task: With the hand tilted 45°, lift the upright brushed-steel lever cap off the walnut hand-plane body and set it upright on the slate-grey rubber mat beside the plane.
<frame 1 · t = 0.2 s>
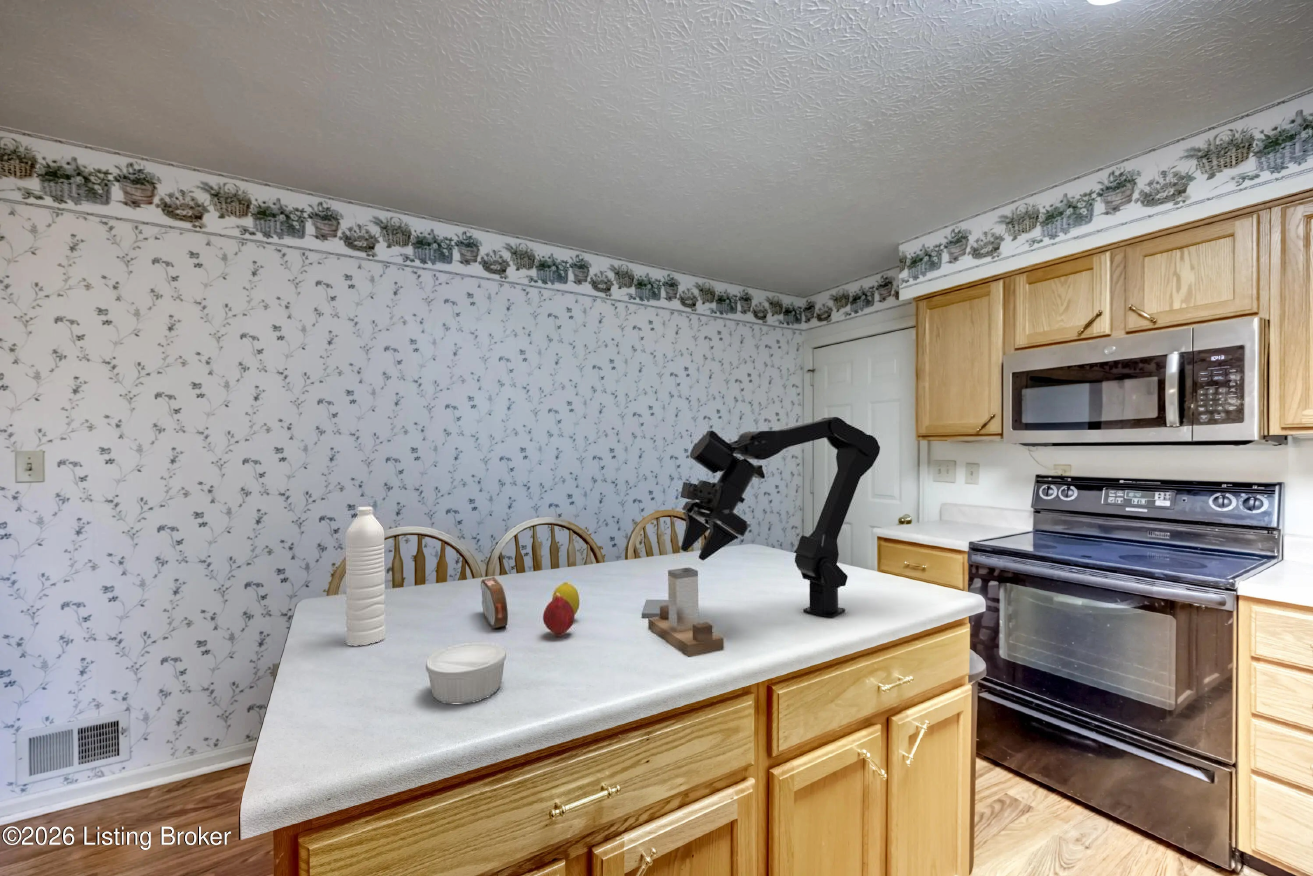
hand: (691, 554, 107), 14 cm above the worktop, tool tilted 35°, fingers open, 9 cm apart
water bottle: (366, 643, 103), on the worktop
mat: (667, 610, 119), on the worktop
ramekin: (467, 692, 82), on the worktop
plane body: (683, 638, 102), on the worktop
lever cap: (683, 627, 102), point 2 cm above the worktop, touching plane body
onion: (559, 636, 105), on the worktop
tin: (493, 623, 114), on the worktop
lemon: (565, 622, 113), on the worktop
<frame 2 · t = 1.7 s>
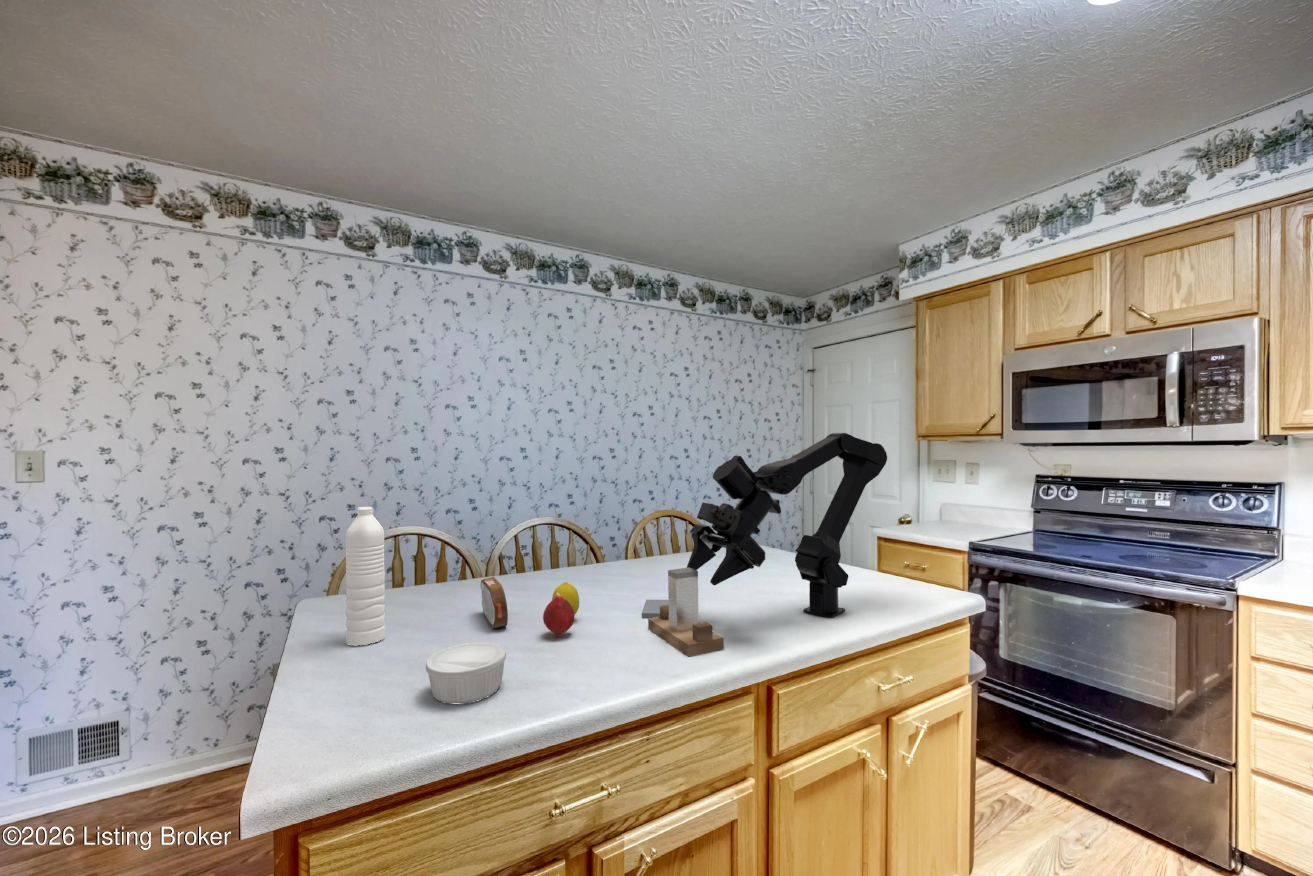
hand: (699, 578, 104), 11 cm above the worktop, tool tilted 45°, fingers open, 9 cm apart
nothing on the worktop moved.
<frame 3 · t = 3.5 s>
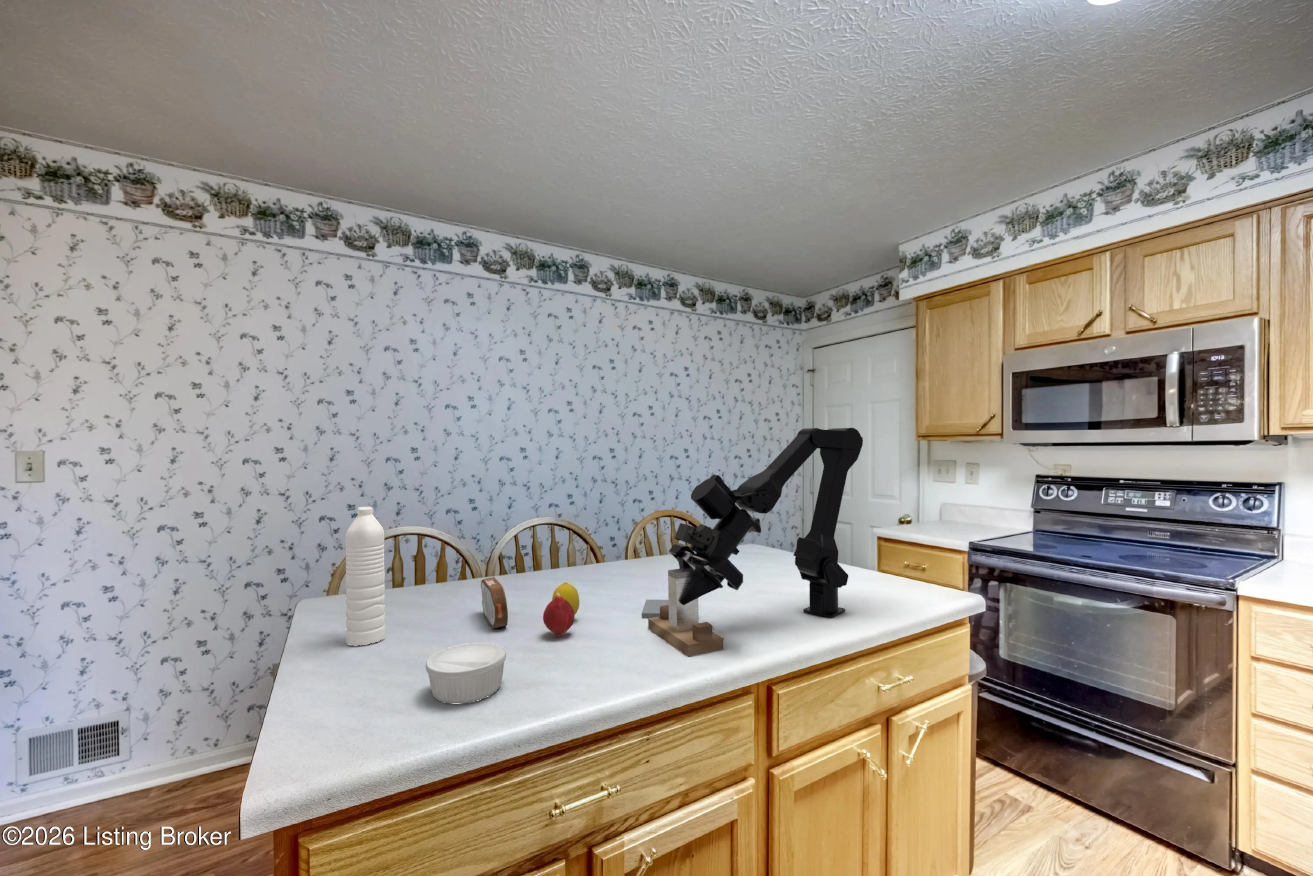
hand: (676, 601, 102), 7 cm above the worktop, tool tilted 45°, fingers closed on lever cap, 3 cm apart
lever cap: (683, 627, 102), point 2 cm above the worktop, touching gripper, plane body
everything else where it was.
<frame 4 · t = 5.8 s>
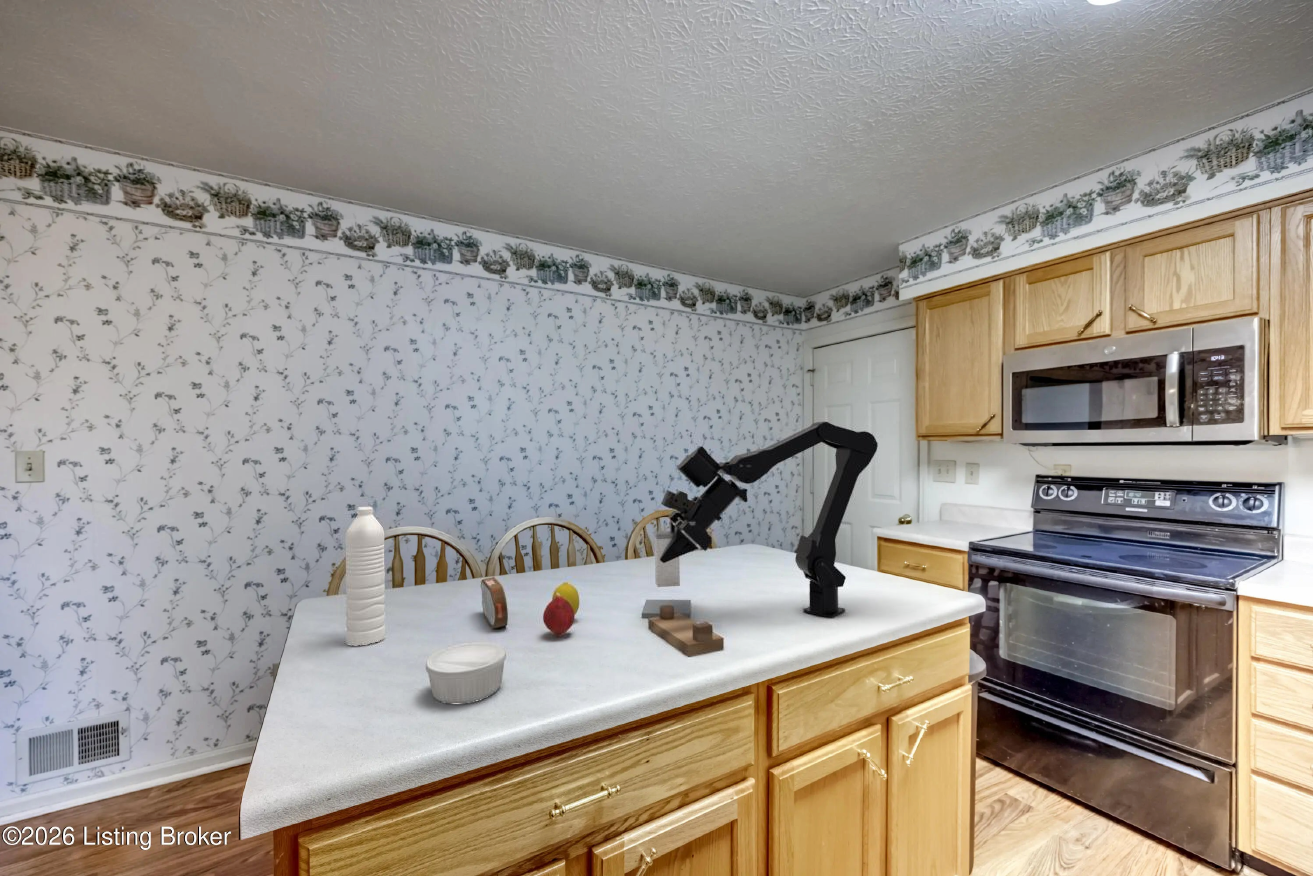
hand: (660, 559, 112), 12 cm above the worktop, tool tilted 45°, fingers closed on lever cap, 3 cm apart
lever cap: (667, 584, 113), point 7 cm above the worktop, touching gripper
everything else where it was.
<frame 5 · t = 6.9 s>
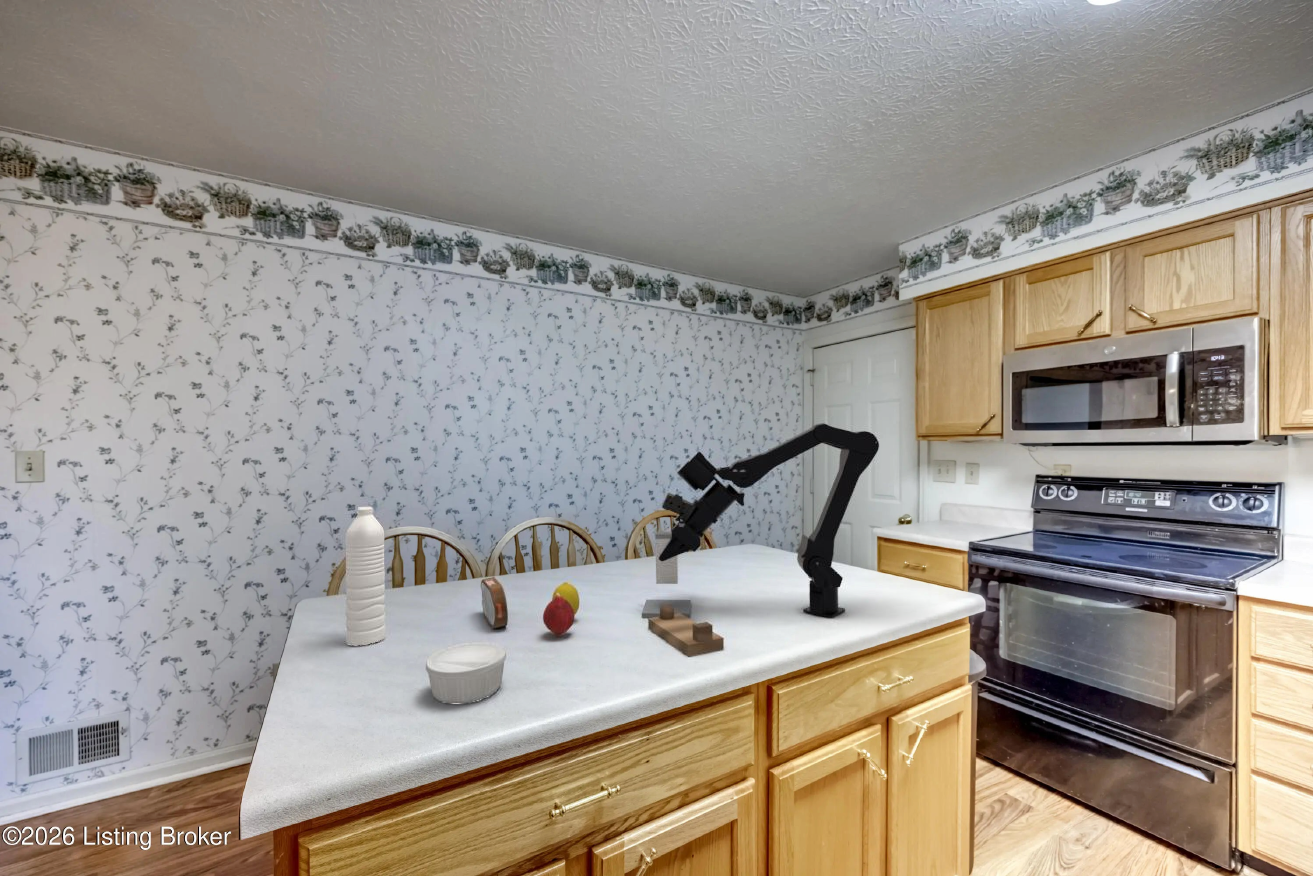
hand: (660, 558, 119), 11 cm above the worktop, tool tilted 45°, fingers closed on lever cap, 3 cm apart
lever cap: (667, 581, 119), point 6 cm above the worktop, touching gripper
everything else where it was.
when the fingers open (7 cm above the worktop, at t = 7.9 s): lever cap drops 1 cm, resting on mat.
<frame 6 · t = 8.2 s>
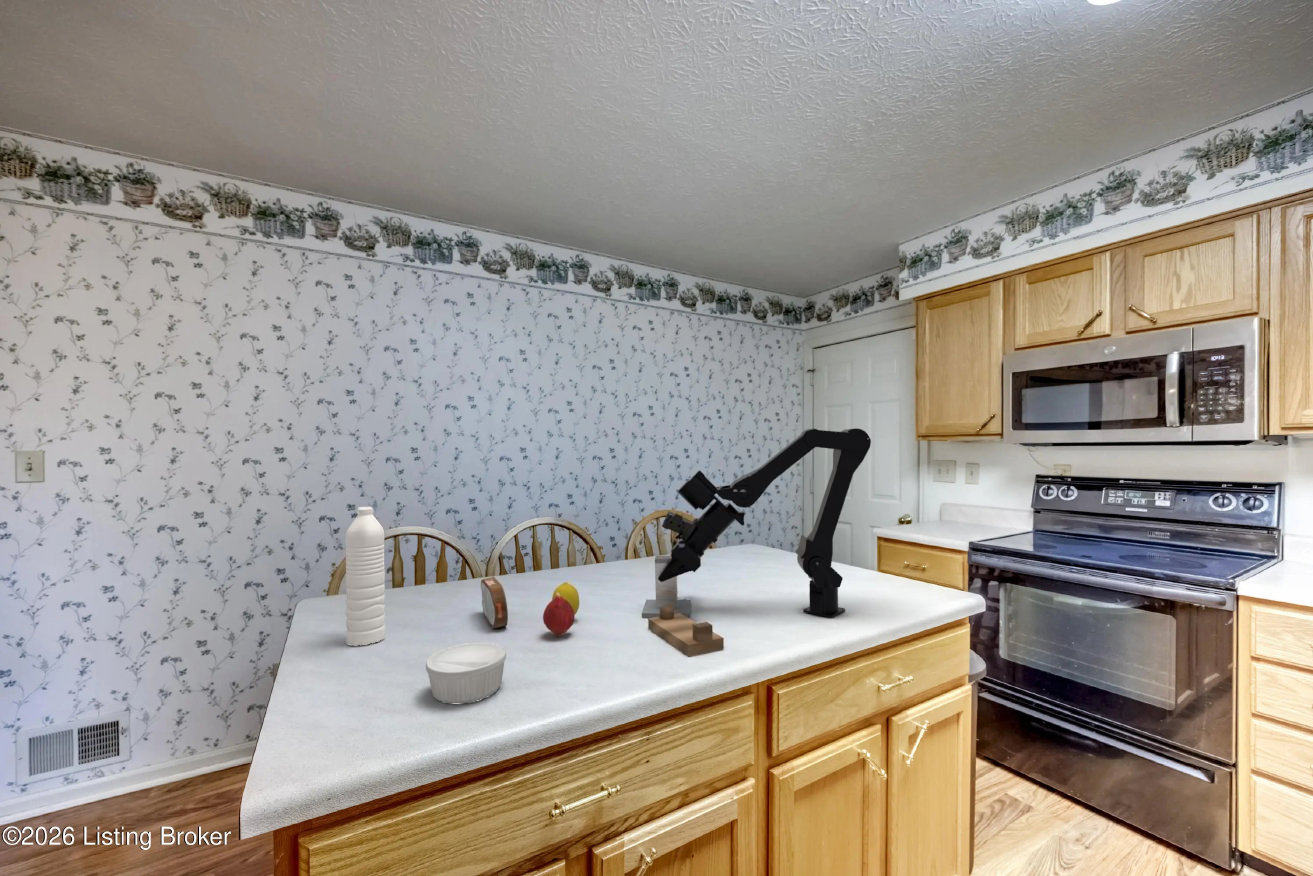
hand: (660, 577, 119), 7 cm above the worktop, tool tilted 45°, fingers open, 6 cm apart
lever cap: (667, 606, 119), point 1 cm above the worktop, touching mat
everything else where it was.
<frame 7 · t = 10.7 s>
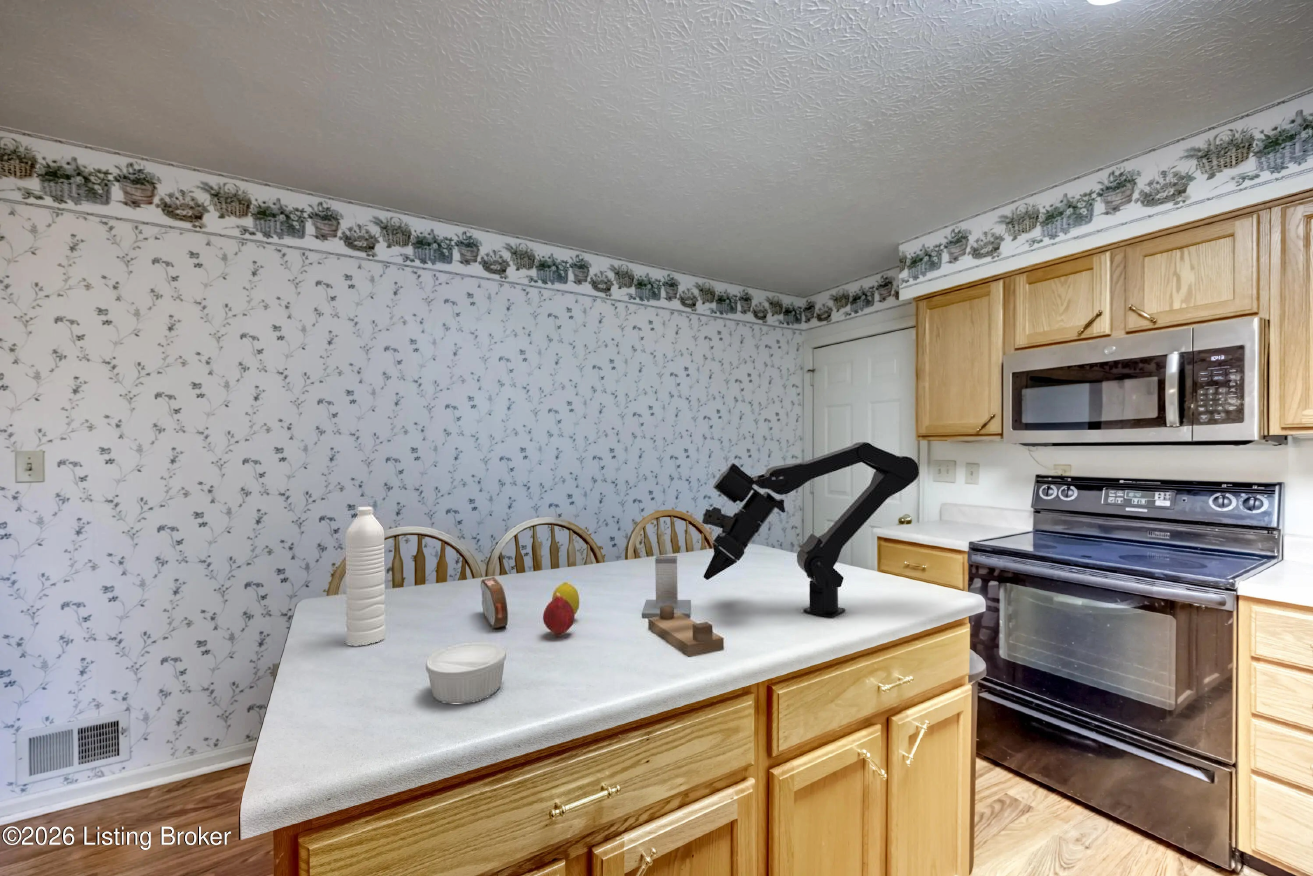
hand: (707, 575, 117), 8 cm above the worktop, tool tilted 40°, fingers open, 9 cm apart
nothing on the worktop moved.
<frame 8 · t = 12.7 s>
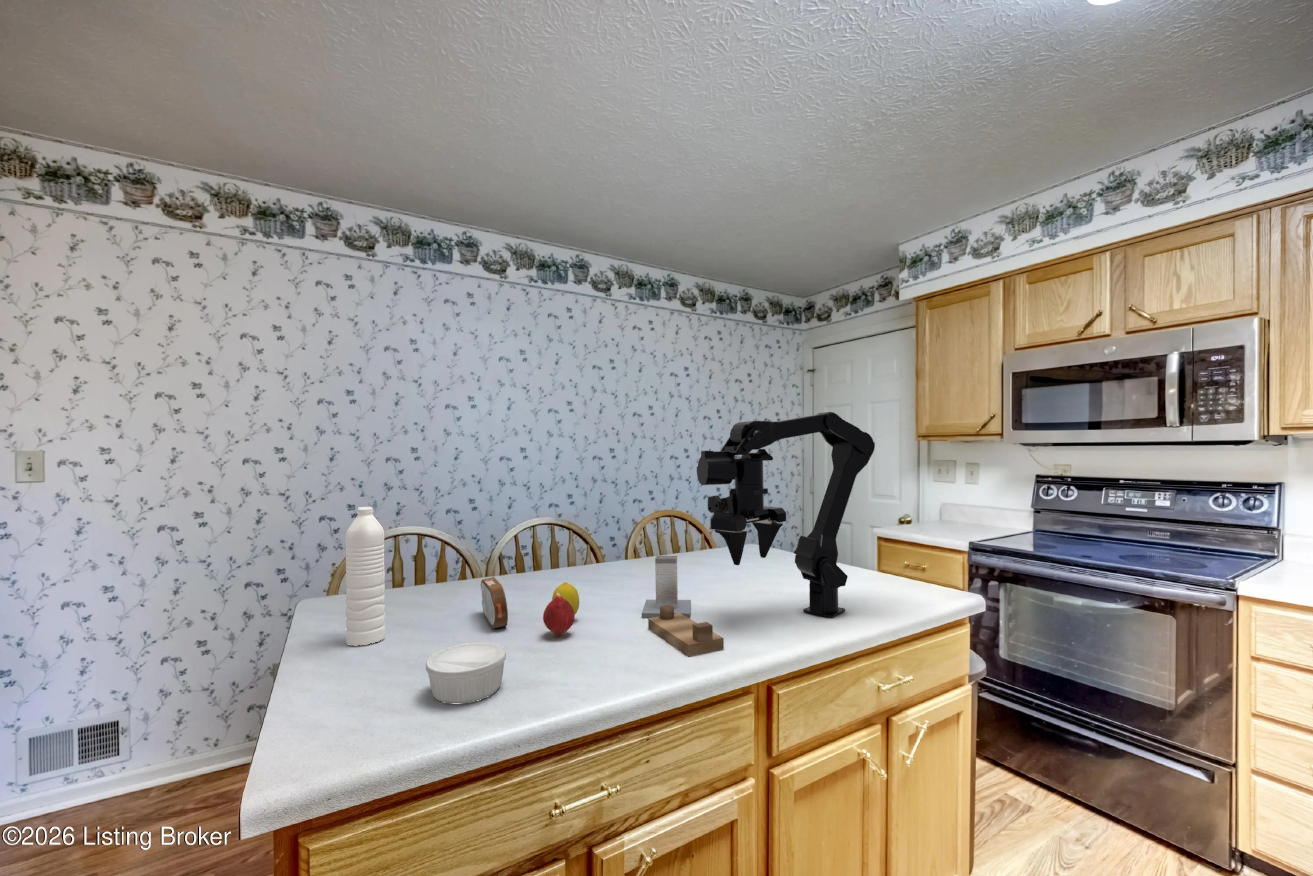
hand: (750, 561, 112), 12 cm above the worktop, tool pointing down, fingers open, 9 cm apart
nothing on the worktop moved.
at the end: lever cap inside the target area on the mat (0.1 cm from its centre), point 1.0 cm above the mat's base; lever cap tilted 0°; the gripper is holding nothing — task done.
